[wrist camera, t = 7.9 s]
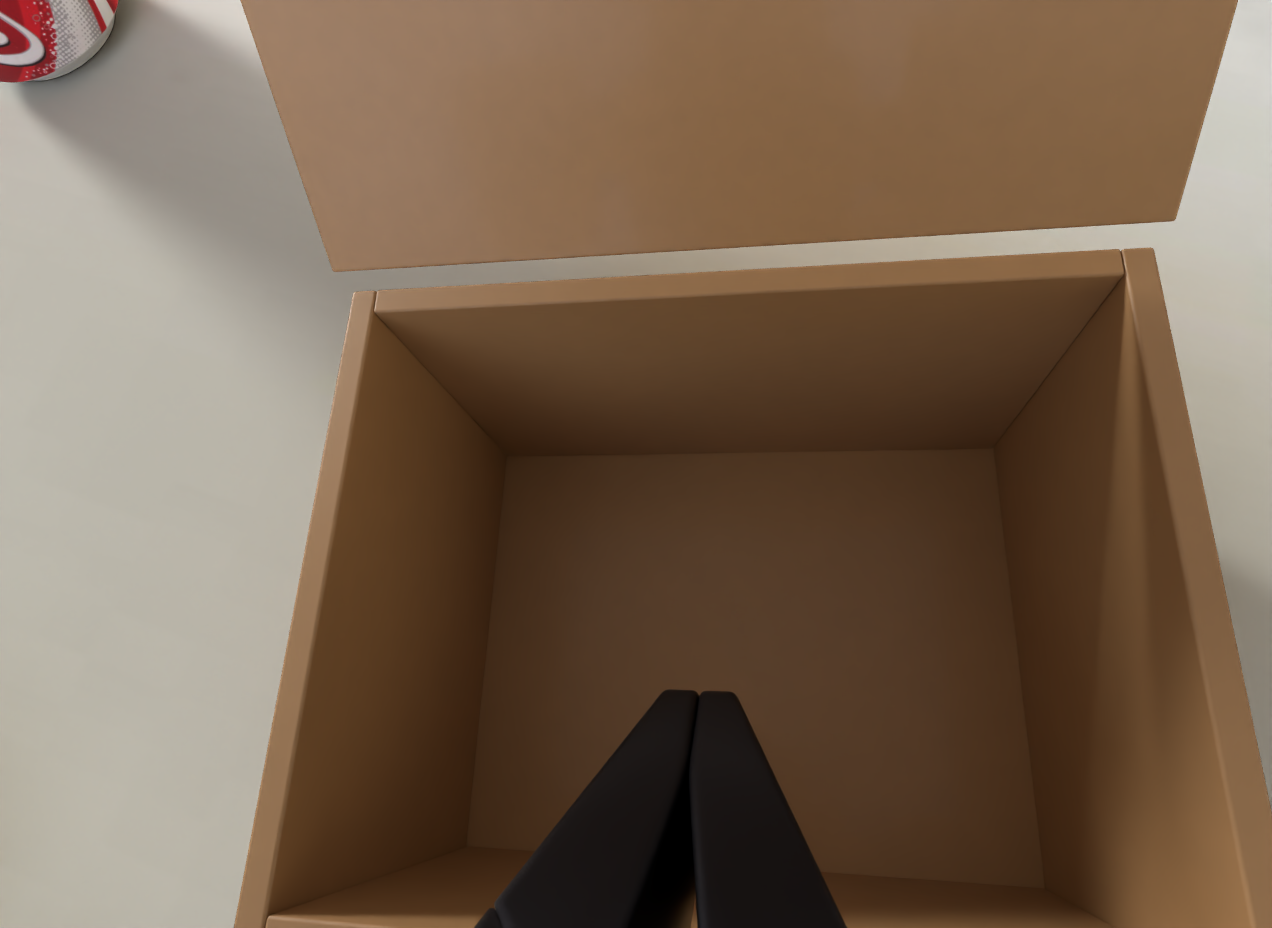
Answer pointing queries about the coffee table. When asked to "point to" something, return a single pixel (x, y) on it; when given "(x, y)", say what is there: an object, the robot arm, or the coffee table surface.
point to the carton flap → (729, 120)
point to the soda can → (51, 36)
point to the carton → (772, 592)
